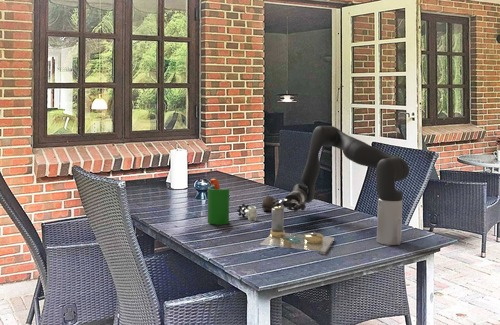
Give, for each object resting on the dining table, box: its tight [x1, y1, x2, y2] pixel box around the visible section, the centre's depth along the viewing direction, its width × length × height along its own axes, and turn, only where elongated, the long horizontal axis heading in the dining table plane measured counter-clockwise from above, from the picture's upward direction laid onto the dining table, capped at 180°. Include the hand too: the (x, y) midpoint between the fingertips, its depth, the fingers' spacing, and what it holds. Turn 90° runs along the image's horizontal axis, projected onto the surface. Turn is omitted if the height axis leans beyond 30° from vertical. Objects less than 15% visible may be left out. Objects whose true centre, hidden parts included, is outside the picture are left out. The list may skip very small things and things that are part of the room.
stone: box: [261, 195, 279, 212], centre depth 262 cm, size 10×8×10 cm
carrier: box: [259, 231, 335, 255], centre depth 205 cm, size 25×19×4 cm
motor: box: [207, 178, 230, 226], centre depth 237 cm, size 10×9×20 cm
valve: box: [236, 203, 258, 222], centre depth 243 cm, size 7×7×12 cm
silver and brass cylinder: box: [269, 206, 286, 238], centre depth 212 cm, size 6×6×12 cm
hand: (284, 208), depth 222 cm, fingers open, 8 cm apart
